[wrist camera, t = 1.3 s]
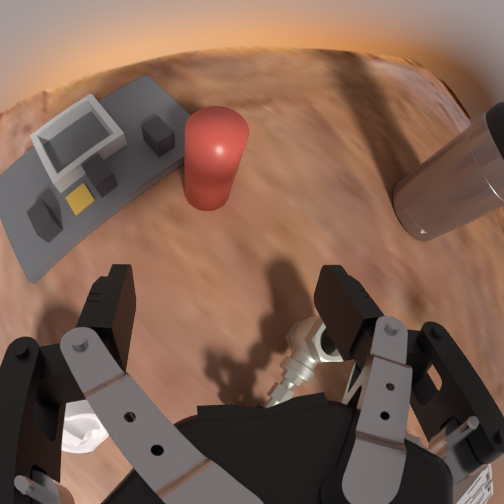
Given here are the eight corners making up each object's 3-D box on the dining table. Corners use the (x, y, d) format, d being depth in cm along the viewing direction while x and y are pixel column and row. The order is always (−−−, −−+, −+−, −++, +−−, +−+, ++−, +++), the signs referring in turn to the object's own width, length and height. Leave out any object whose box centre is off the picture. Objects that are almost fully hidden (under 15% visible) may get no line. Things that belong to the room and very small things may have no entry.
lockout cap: (210, 163, 29) (221, 98, 20) (238, 193, 29) (261, 134, 20) (175, 187, 28) (172, 124, 18) (203, 219, 28) (212, 165, 18)
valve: (288, 302, 27) (215, 403, 24) (316, 293, 21) (223, 426, 17) (338, 338, 27) (271, 436, 24) (375, 339, 21) (294, 462, 17)
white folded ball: (92, 450, 19) (66, 483, 12) (38, 394, 19) (-2, 410, 12) (138, 403, 22) (119, 431, 15) (80, 344, 22) (42, 349, 15)
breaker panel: (147, 82, 31) (145, 60, 27) (212, 145, 30) (216, 122, 26) (-5, 191, 23) (-21, 176, 19) (35, 283, 22) (15, 276, 18)
